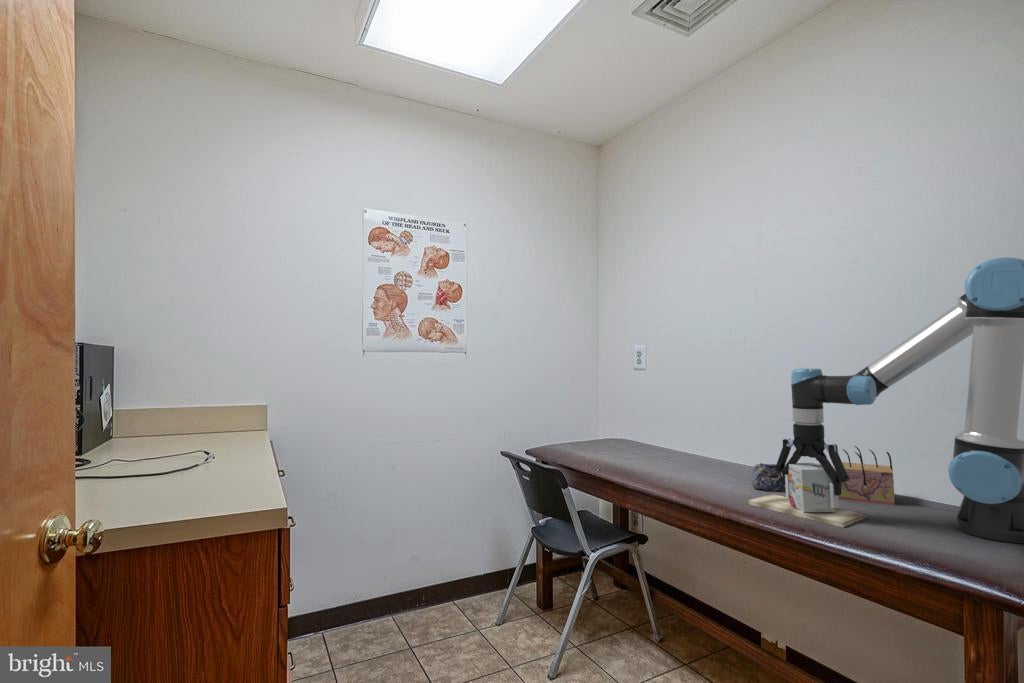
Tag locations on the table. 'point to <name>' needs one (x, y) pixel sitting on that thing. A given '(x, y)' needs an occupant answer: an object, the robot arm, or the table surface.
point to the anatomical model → (868, 482)
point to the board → (784, 506)
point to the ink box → (809, 487)
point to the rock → (766, 477)
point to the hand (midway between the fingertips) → (811, 501)
